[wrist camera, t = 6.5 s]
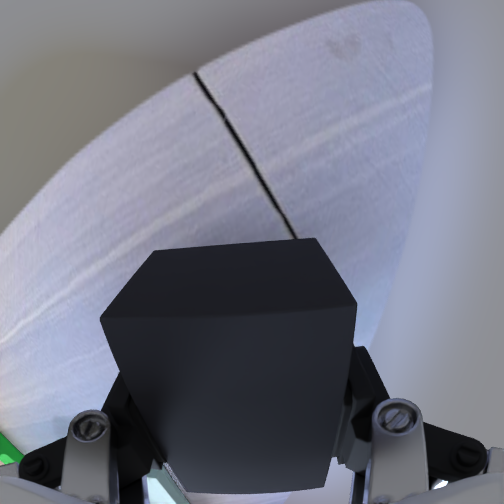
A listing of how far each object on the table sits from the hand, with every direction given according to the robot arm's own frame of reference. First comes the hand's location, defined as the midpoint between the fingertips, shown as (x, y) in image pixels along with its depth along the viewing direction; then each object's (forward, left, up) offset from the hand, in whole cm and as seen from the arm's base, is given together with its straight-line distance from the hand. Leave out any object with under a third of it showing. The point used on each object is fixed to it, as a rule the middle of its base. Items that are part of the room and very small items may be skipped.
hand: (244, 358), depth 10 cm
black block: (0, 0, 0) cm, 0 cm away
